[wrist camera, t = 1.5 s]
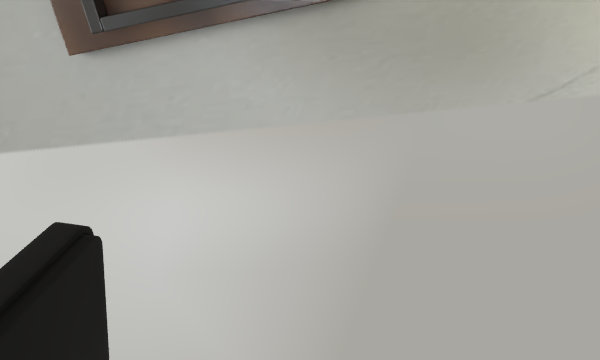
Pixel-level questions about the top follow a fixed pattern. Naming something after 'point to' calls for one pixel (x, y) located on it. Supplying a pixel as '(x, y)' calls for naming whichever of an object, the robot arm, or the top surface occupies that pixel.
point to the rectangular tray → (151, 18)
